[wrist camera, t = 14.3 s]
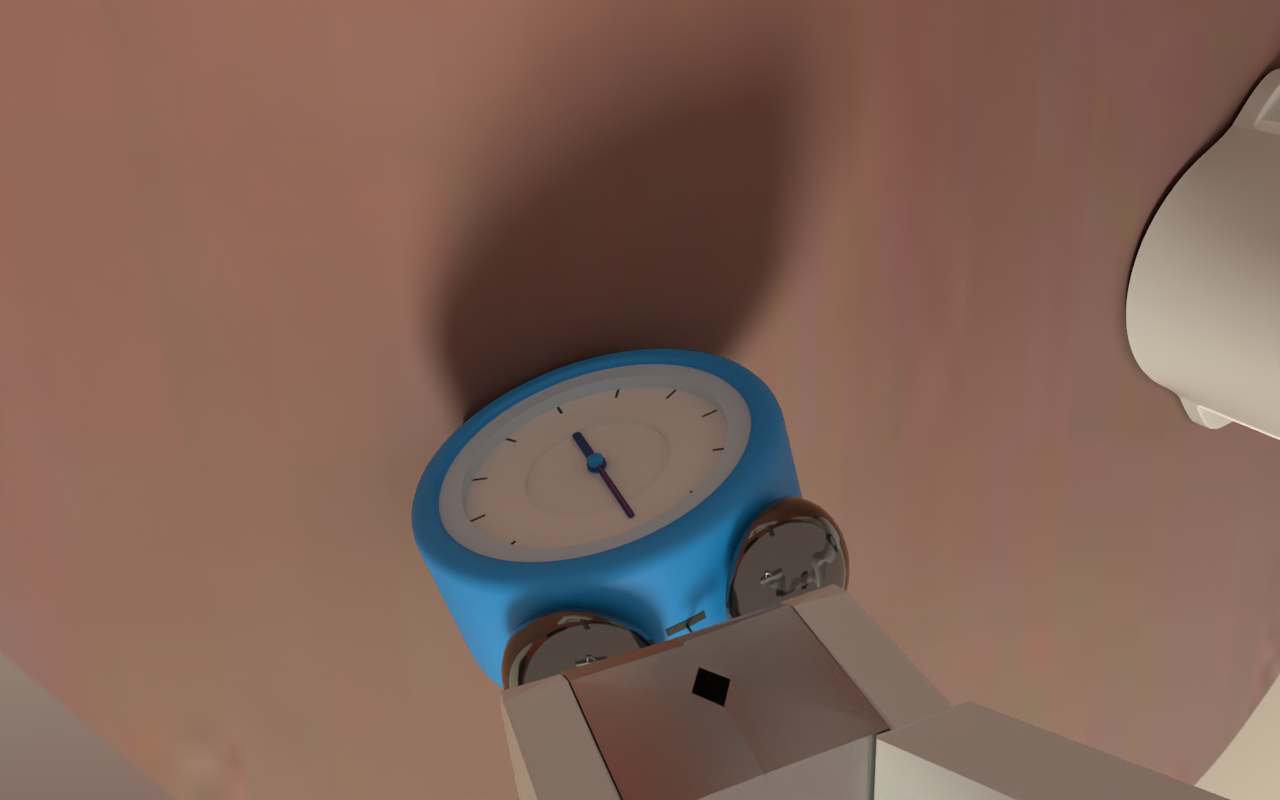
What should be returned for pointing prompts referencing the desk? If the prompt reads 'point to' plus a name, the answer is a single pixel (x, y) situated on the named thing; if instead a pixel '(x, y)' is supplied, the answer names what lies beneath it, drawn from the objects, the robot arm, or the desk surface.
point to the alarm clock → (618, 512)
